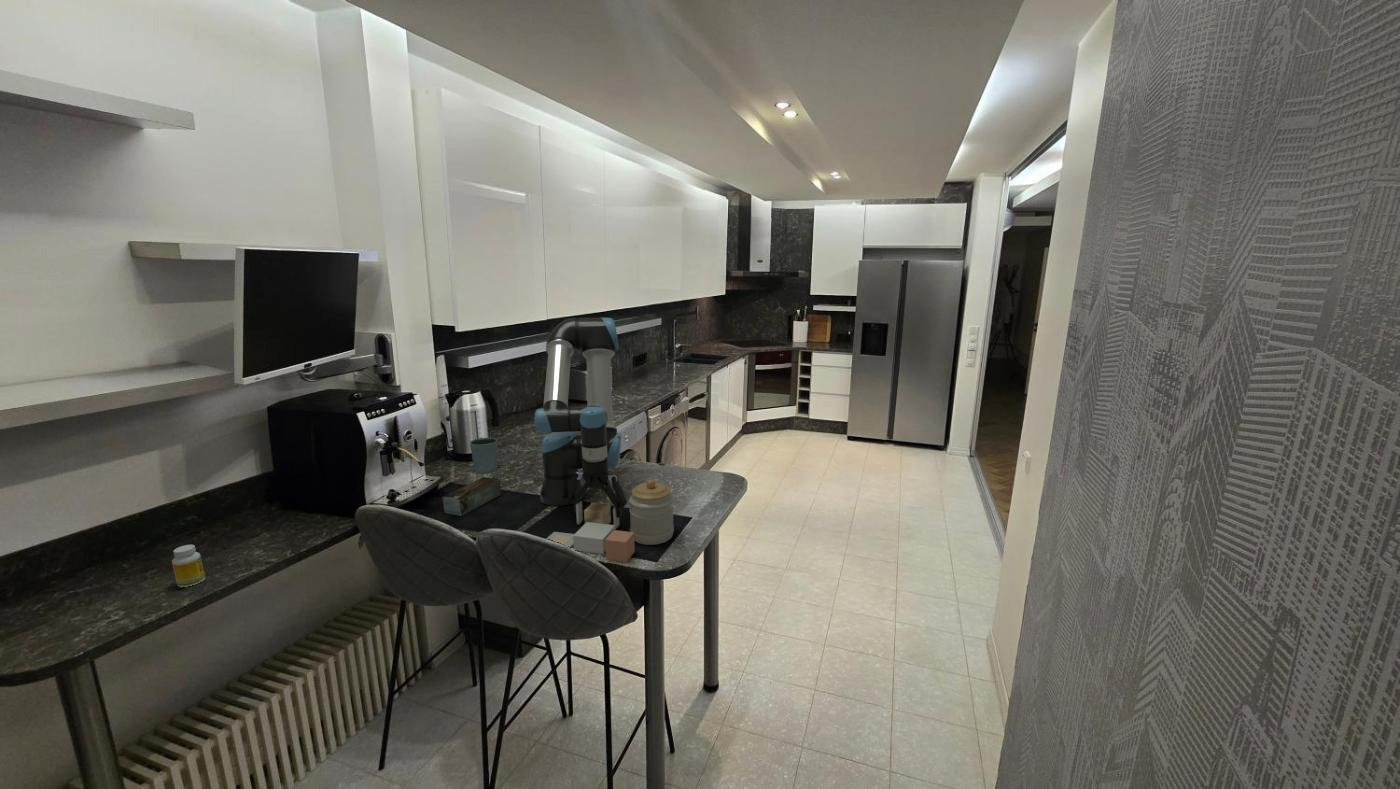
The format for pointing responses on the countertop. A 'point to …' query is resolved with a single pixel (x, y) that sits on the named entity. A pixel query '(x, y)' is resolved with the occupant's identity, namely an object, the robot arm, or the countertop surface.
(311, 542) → the countertop surface
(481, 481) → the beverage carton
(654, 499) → the jar
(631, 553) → the terracotta block
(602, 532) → the grey base block
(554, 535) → the card
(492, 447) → the teal cup
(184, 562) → the supplement bottle
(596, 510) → the maple block
